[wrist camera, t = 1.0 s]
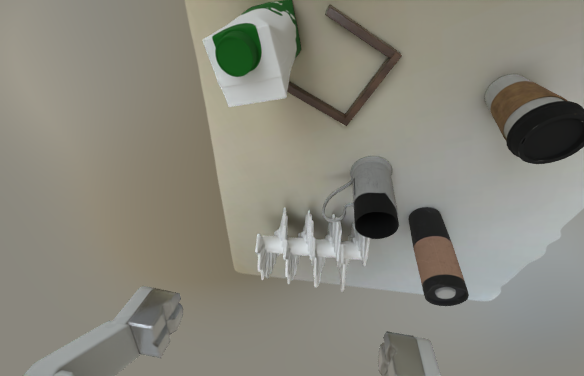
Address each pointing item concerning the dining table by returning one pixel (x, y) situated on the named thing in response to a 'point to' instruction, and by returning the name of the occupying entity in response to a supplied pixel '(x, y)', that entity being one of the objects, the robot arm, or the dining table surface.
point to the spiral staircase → (310, 249)
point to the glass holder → (371, 198)
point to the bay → (372, 85)
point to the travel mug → (436, 259)
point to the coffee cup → (535, 120)
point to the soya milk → (255, 53)
